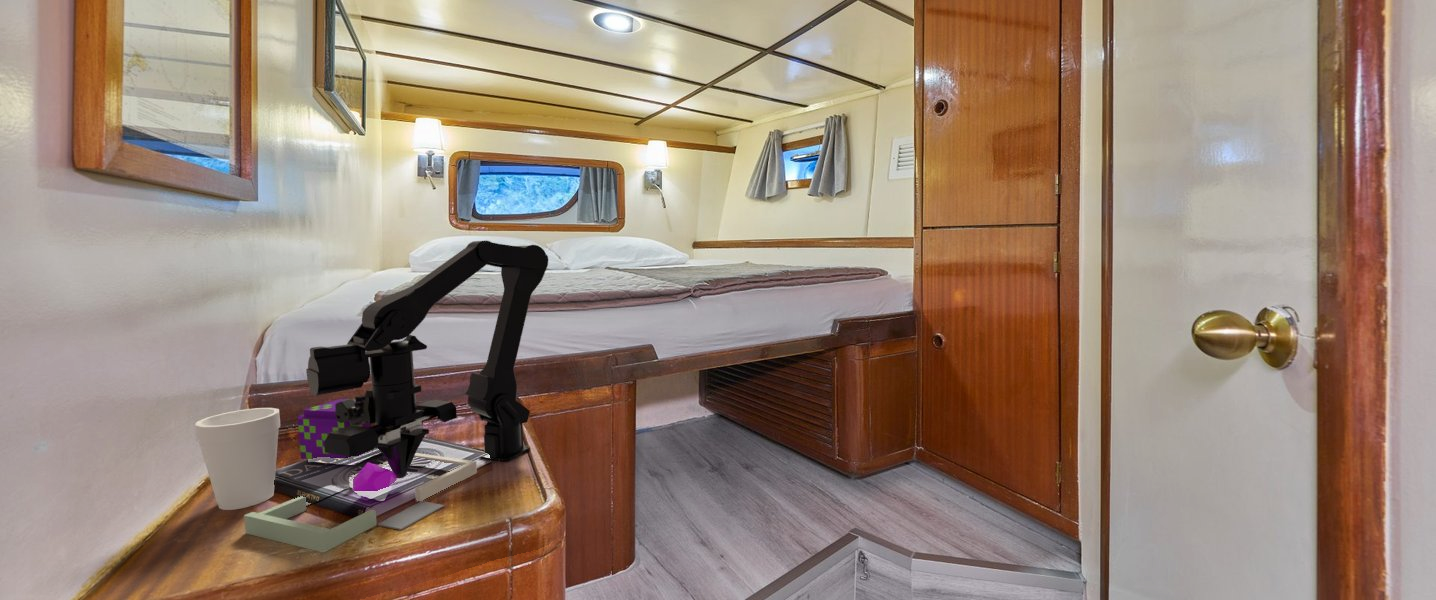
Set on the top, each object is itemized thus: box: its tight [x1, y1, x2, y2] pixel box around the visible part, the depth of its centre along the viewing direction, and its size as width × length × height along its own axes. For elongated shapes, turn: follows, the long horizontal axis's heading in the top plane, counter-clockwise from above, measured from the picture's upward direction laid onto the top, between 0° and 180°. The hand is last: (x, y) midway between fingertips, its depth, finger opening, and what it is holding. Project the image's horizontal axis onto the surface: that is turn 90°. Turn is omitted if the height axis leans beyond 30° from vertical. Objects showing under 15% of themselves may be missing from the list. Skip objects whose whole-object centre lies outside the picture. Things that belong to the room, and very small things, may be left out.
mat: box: [377, 500, 445, 531], centre depth 74 cm, size 7×4×1 cm, turn 161°
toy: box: [297, 395, 424, 460], centre depth 96 cm, size 10×11×20 cm
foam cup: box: [194, 407, 281, 511], centre depth 79 cm, size 10×9×13 cm
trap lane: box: [243, 452, 478, 553], centre depth 79 cm, size 25×15×2 cm, turn 161°
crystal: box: [352, 461, 398, 492], centre depth 80 cm, size 5×5×5 cm
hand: (400, 477), depth 83 cm, fingers closed
